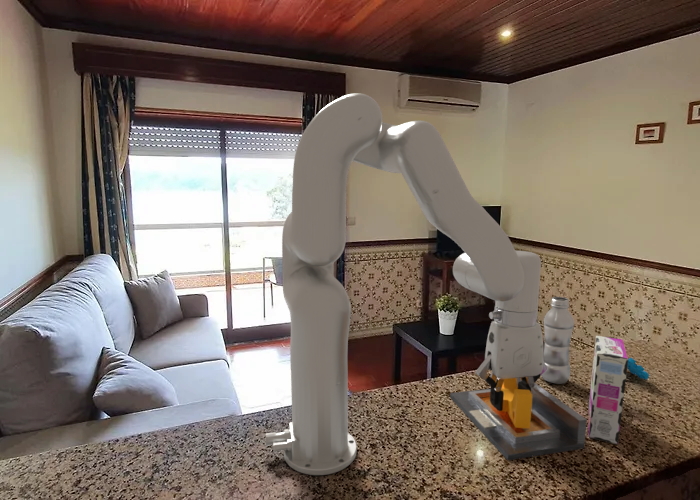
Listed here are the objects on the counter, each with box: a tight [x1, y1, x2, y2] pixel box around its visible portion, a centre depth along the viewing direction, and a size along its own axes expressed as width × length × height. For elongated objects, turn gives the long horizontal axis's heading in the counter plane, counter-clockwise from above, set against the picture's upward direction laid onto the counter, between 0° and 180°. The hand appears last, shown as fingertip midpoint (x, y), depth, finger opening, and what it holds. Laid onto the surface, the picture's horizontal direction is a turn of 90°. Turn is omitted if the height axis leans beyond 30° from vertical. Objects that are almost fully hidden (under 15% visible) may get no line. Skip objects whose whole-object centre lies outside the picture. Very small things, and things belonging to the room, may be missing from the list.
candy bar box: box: [587, 335, 629, 445], centre depth 80 cm, size 11×5×16 cm, turn 152°
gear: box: [627, 357, 650, 381], centre depth 103 cm, size 11×6×10 cm
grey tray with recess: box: [449, 378, 588, 461], centre depth 84 cm, size 15×22×6 cm
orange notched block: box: [501, 378, 533, 428], centre depth 83 cm, size 12×4×6 cm, turn 174°
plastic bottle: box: [540, 296, 575, 385], centre depth 99 cm, size 6×7×20 cm
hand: (509, 404), depth 84 cm, fingers closed on orange notched block, 5 cm apart
